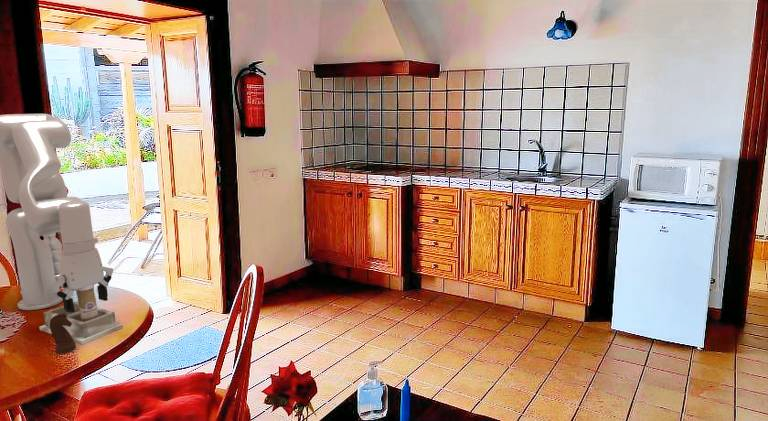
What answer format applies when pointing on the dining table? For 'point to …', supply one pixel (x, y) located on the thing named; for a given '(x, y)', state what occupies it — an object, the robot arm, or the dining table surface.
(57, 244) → the plastic bottle
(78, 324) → the slot rack
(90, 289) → the sprinkles bottle
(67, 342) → the chess piece
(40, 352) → the dining table surface
